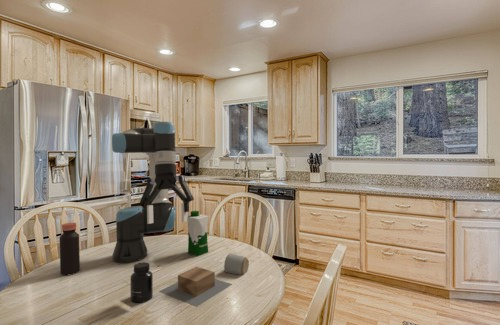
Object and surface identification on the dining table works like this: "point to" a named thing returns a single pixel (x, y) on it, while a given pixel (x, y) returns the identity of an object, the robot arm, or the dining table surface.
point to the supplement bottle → (141, 283)
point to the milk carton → (197, 233)
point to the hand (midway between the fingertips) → (167, 222)
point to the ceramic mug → (236, 264)
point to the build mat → (193, 299)
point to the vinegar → (69, 250)
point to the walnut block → (196, 281)
